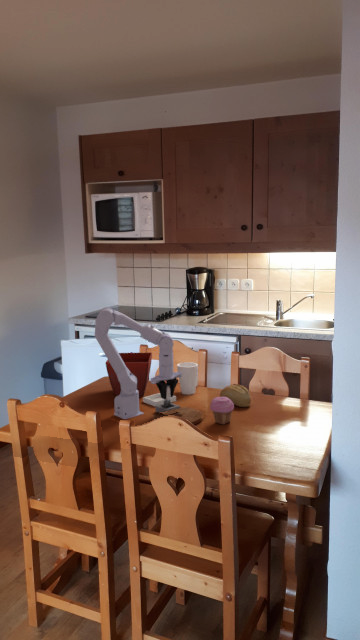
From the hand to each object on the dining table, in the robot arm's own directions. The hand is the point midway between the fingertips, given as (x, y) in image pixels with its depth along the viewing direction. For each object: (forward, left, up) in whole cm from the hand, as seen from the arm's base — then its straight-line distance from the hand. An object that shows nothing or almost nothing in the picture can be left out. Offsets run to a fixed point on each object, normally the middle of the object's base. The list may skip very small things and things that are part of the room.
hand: (167, 397), depth 205 cm
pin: (0, 0, -3) cm, 3 cm away
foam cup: (+24, +15, -7) cm, 29 cm away
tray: (+6, +13, -6) cm, 16 cm away
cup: (0, 0, -6) cm, 6 cm away
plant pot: (+5, +33, -7) cm, 34 cm away
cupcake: (+8, -23, -7) cm, 25 cm away
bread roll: (+28, -11, -7) cm, 31 cm away
